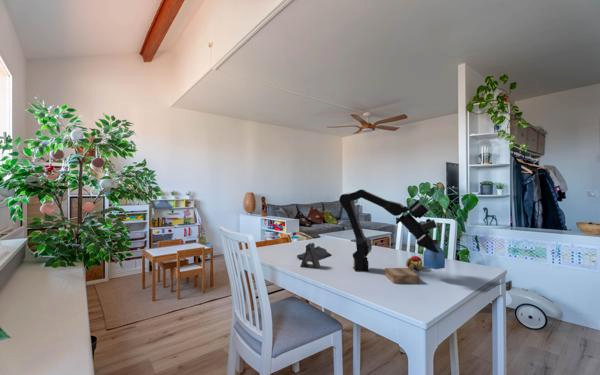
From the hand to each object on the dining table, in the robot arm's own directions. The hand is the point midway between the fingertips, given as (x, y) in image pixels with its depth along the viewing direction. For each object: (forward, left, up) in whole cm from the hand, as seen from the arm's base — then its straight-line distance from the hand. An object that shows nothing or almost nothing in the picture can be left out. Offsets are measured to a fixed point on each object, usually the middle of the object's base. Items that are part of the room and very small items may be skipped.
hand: (437, 251), depth 126 cm
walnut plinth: (-16, +1, -13) cm, 21 cm away
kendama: (-5, +15, -13) cm, 21 cm away
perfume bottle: (-1, +1, -7) cm, 7 cm away
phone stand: (-56, +22, -13) cm, 62 cm away
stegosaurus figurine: (-53, +43, -14) cm, 70 cm away
